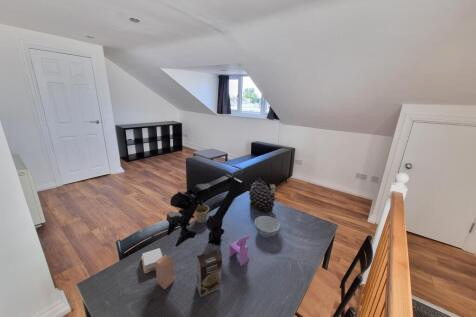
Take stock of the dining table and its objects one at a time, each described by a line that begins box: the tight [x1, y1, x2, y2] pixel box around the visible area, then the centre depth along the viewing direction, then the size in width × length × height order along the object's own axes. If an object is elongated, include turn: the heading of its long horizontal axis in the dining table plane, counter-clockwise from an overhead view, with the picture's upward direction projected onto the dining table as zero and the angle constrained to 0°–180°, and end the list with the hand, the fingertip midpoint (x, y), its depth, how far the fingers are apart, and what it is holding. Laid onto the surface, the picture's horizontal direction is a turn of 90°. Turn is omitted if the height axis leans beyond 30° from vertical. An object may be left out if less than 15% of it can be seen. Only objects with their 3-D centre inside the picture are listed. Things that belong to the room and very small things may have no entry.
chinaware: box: [254, 215, 281, 239], centre depth 121 cm, size 15×15×8 cm
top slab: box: [142, 247, 163, 270], centre depth 96 cm, size 8×8×2 cm
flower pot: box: [194, 204, 210, 224], centre depth 130 cm, size 9×9×9 cm
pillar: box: [155, 254, 175, 290], centre depth 87 cm, size 5×5×12 cm
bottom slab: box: [141, 252, 163, 275], centre depth 98 cm, size 9×9×2 cm
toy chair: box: [228, 234, 250, 267], centre depth 102 cm, size 8×9×15 cm
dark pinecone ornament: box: [248, 176, 276, 216], centre depth 144 cm, size 21×15×25 cm
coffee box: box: [196, 249, 223, 298], centre depth 85 cm, size 9×6×16 cm
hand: (171, 240), depth 94 cm, fingers open, 9 cm apart
